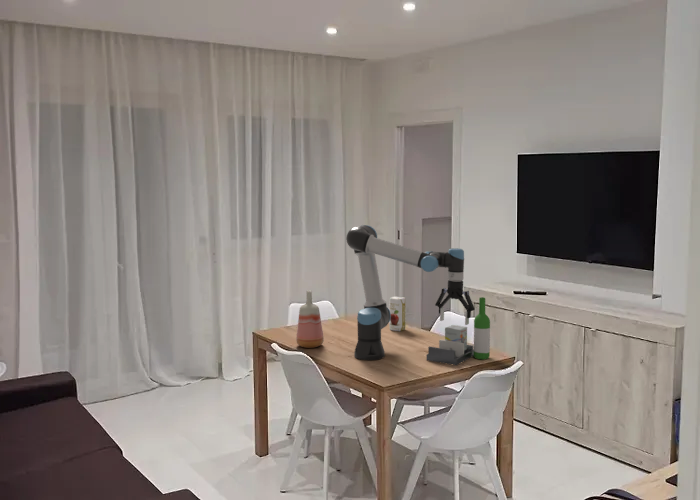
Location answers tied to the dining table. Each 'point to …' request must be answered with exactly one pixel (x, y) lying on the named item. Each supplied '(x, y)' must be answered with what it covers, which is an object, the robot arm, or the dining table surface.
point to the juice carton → (397, 313)
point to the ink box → (456, 334)
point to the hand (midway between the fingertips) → (454, 322)
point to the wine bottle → (481, 333)
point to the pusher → (452, 346)
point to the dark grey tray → (448, 355)
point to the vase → (309, 325)
